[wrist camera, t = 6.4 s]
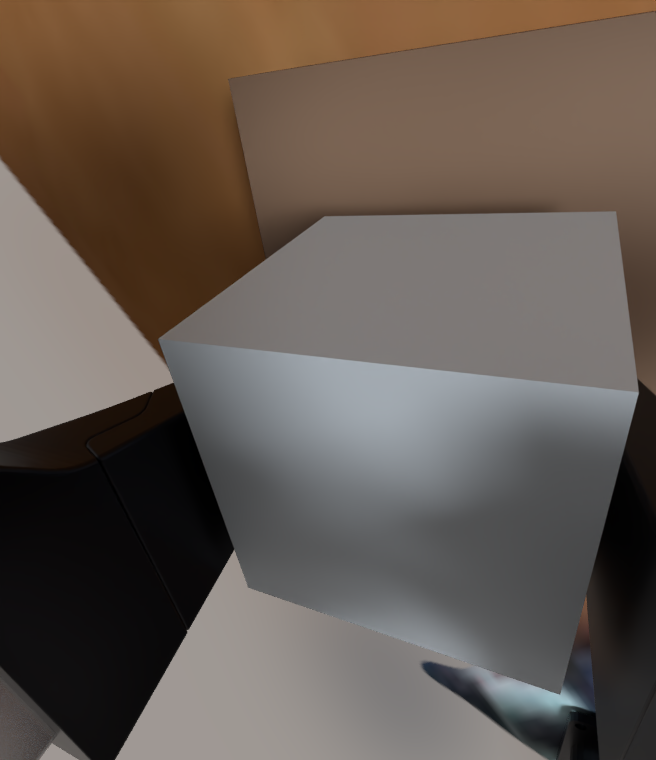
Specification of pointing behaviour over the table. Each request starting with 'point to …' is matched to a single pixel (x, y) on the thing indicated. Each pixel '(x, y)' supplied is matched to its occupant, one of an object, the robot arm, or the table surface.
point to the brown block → (469, 139)
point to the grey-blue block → (422, 424)
